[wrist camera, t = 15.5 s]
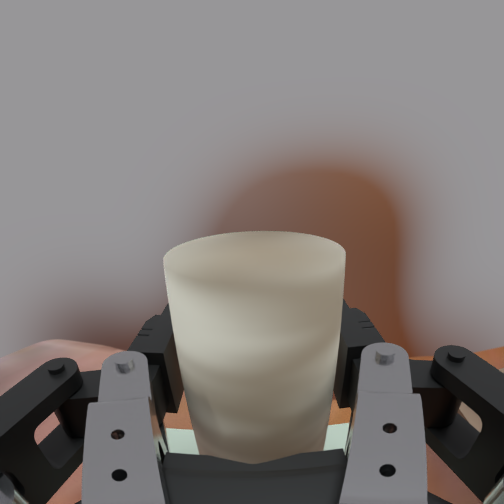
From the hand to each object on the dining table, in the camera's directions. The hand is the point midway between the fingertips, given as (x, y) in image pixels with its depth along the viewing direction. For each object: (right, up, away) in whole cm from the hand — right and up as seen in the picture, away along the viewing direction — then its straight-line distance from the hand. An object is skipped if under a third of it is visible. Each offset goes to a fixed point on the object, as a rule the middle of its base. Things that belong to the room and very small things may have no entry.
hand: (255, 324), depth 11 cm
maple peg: (0, -10, 0) cm, 10 cm away
